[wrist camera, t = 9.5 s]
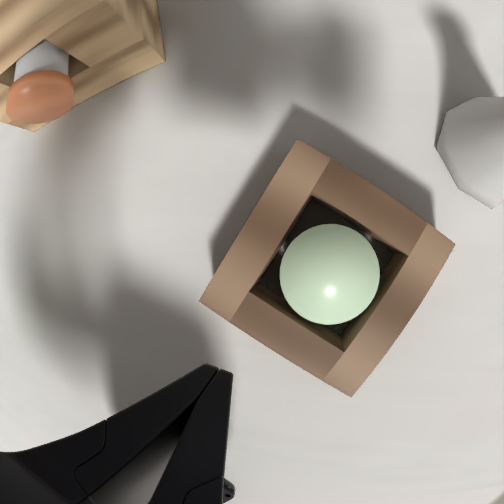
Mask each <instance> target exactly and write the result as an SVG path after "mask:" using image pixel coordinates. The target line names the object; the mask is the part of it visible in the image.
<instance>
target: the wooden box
mask: <svg viewBox="0 0 504 504" xmlns="http://www.w3.org/2000/svg"><path fill="white" fill-rule="evenodd" d="M43 39H46V40H48V41H49V42H51V43H53V44H54V45H56V46H58V47H59V48H61V49H62V50H64V51H66V52H67V53H69V61H68V76H69V77H70V78H71V80H72V81H73V85H74V102H73V105H72V107H71V108H73V107H74V106H76V105H78V104H80V103H81V102H83V101H85V100H87V99H89V98H90V97H92V96H94V95H96V94H98V93H100V92H101V91H103V90H105V89H107V88H109V87H111V86H113V85H115V84H117V83H119V82H121V81H123V80H125V79H127V78H129V77H132V76H134V75H136V74H138V73H140V72H142V71H145V70H147V69H149V68H151V67H154V66H156V65H158V64H161V63H163V62H165V55H164V48H163V41H162V34H161V27H160V20H159V12H158V4H157V0H0V122H3V123H7V124H10V125H13V126H17V127H20V128H23V129H27V130H30V131H33V132H35V131H36V130H38V129H39V128H41V127H42V126H44V125H45V124H47V123H48V122H50V121H48V122H45V123H39V124H22V123H18V122H15V121H13V120H11V119H10V118H9V117H8V116H7V114H6V101H7V92H8V89H9V88H10V86H11V85H12V84H13V83H14V76H15V68H16V61H17V60H18V59H19V58H20V57H22V56H23V55H24V54H25V53H26V52H28V51H29V50H30V49H32V48H33V47H34V46H35V45H37V44H38V43H39V42H41V41H42V40H43ZM71 108H70V109H71Z"/></svg>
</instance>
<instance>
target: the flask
mask: <svg viewBox="0 0 504 504" xmlns="http://www.w3.org/2000/svg"><path fill="white" fill-rule="evenodd" d="M436 149H437V151H438V153H439V154H440V156H441V158H442V159H443V161H444V163H445V165H446V166H447V168H448V170H449V172H450V174H451V176H452V177H453V179H454V181H455V183H456V185H457V187H458V189H460V190H461V191H463V192H465V193H466V194H468V195H470V196H471V197H473V198H475V199H476V200H478V201H480V202H481V203H483V204H485V205H486V206H488V207H489V208H491V209H492V208H494V207H495V206H497V205H498V204H499V203H501V202H502V201H503V200H504V97H473V98H471V99H469V100H467V101H465V102H464V103H462V104H460V105H458V106H456V107H454V108H452V109H450V110H449V111H447V112H446V114H445V118H444V122H443V126H442V130H441V133H440V137H439V140H438V144H437V147H436Z"/></svg>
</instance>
